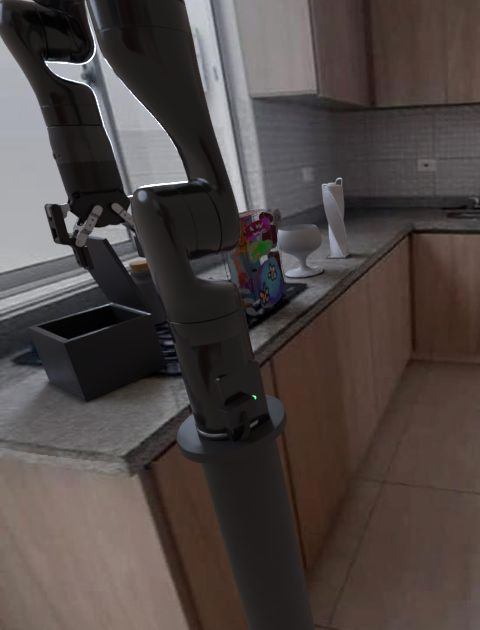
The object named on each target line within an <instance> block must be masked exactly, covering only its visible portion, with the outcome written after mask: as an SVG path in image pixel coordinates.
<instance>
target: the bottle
mask: <svg viewBox="0 0 480 630" xmlns="http://www.w3.org/2000/svg"><path fill="white" fill-rule="evenodd" d="M128 266H129V267H130V271H129V274H130V276H131V277H134V279H133V280H134V282H135V284H136V285H137V287H138V288H139V290H140V291H141V293H142V294H143V296H144V298H145V299H146V301H147V302H148V304H149V305H150V307H151V309H152V310H153V311H151V312H150V313H149V314H152V318H153V321H154V325H155V326H156V325H159V324H164V323H167V320H166V316H165V312H164V309H163V306H162V304H161V301H160V299H159V297H158V294H157V292H156V289H155V286H154V283H153V279H152V276H151V273H150V270H149V267H148V264H147V261H146V259H141V260H135V261H132V262H130V263H128ZM139 311H141V310H139ZM142 312H144V311H142ZM146 313H148V312H146Z"/></svg>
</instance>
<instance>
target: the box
mask: <svg viewBox="0 0 480 630" xmlns="http://www.w3.org/2000/svg"><path fill="white" fill-rule="evenodd" d="M272 211H273V212H272ZM239 216H240V223H241V237H240V241H239V244H238V246H237V247H236V248H235V249H234V250H232V251H229V252H226V253H222V255H221V258H222V261H223V265H224V269H225V273H226V278H227V279H226V280H227V281H230V282H233V283H235V284H236V285H237V286H238V287H239V289H240V292H241V296H242V301H243V306H244V309H245V315H247V316H246V320H247V321H248V319H247V318H248V317H249V316H256V315H257V316H258V317H261V315H260V313H259V309H261V308H264V309H266V308H271V307H273V306H274V305H276V304H277V303H278V302H280V303H279V304H277V305H276V306H274V307H273V308H272V310H274V309H275V308H276V307H279V305H280V306H281V305H282V302H283V301H280V299H283V300H285V299H286V297H287V294H288V293H287V290H288V288H287V286H286V284H287V281H286V280H285V278H286V275H285V274H284V273H285V272H284V269H283V268H284V267H283V260H282V259H283V256H282V255H283V254H282V253H283V251H280V248H281V246H280V247H278V245H277V243H278V244H279V242H280V240H279V242H278V240H277V238H278V236H279V234H278V230H279V228H280V226H281V223H282V215H281V211H280V209H279V208H276V209H274V210H273V209H272V208H269V209H266V210H265V209H263V208H258V209H254V210H249V211H244V212H243V213H242V212H239ZM255 217H258V218H256V220H253V218H255ZM272 222H273V223H272ZM271 223H272V224H271ZM277 234H278V236H277ZM257 237H260V238H261V240H258V239H257ZM276 247H278V249H277V250H274V251H271V250H273V249H275V248H276ZM224 254H225V255H226V256H225V255H224ZM265 256H266V257H267V259H266V260H263V262H261V260H262V259H261V258H262V257H263V258H264V257H265ZM224 257H226V263H225V259H224ZM226 264H227V267H226ZM227 268H228V272H229V274H228V272H227ZM229 277H230V279H229ZM284 292H285V295H284V296H283V294H284ZM258 301H260V305H261V307H259V308H258V307H256V306H258V303H257V302H258ZM252 304H254V305H253V307H249V306H250V305H252ZM286 304H287V302H285V303H284V305H286ZM254 307H255V308H254ZM278 310H279V308H277V309H276V311H278ZM270 312H271V310H269V311H268V313H270ZM274 313H275V311H273V312H272V313H271V314H269V315H267V316H266V317H265V318H263V319H261V320H259V318H257V321H258V323H260V322H262V321H263V320H265V319H267V318H268V317H269V316H271V315H272V314H274ZM265 315H266V313H264V314H263V316H265ZM250 322H253V323H256V321H255V320H252V319H250Z"/></svg>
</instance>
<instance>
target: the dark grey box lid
mask: <svg viewBox="0 0 480 630" xmlns="http://www.w3.org/2000/svg"><path fill="white" fill-rule="evenodd" d="M71 235H72V232H68V236H69V237H71ZM84 246H87V247H88V250H89V253H90V256H91V259H92V262H93V265H94V269H92V270H87V271H88V273H89V274H90V276H91V277H92V278H93V280H94V282H95V283H96V284H97V286H98V287H99V289H100V290H101V291H102V293H103V295H104V296H105V297H106V299H107V301H108V302H109V303H114V304H118V305H121V306H125V307H128V308H132V309H135V310H139V311H140V310H141V311H144V312H148V313H150V312H151V311H153V310H152V309H151V307H150V305H149V304H148V302H147V301H146V299H145V298H144V296H143V294H142V293H141V291H140V290H139V288H138V287H137V285H136V284H135V282H134V279H133V276H131V274H130V272H129V271H128V270H127V268H126V267H125V265H124V263H123V261H122V260H121V259H120V257H119V256H118V254H117V252H116V250H115V249H114V247H113V246H112V245H111V243H110V241H109V240H108V238H107V237H101V236H94V235H89V236H88V238H87V240H86V243H85V245H84Z"/></svg>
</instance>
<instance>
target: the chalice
mask: <svg viewBox="0 0 480 630" xmlns="http://www.w3.org/2000/svg"><path fill="white" fill-rule="evenodd" d="M277 230H278V231H277V236H278V234H279V236H278V238H277V240H278V242H279V240H280V242H279V244H278V243H277V247H278V248H279V247H280V246H281V248H280V249H279V251H280V252H282V253H285V254H288V255H290V256H292V257H294V258H296V259H297V260H298V261H299V267H295V268H292V269H289V270H287V271H286V272H285V273H284V275H285V277H290V278H306V277H307V278H308V277H312V276H316V275H318V274H320V273H323V271H324V269H323V268H322V267H320V266H311V265H310V266H309V265H308V264H307V259H308V258H309V256H310V255H311V254H313V253H314V252H316V251H317V250H318V249H320V247H321V245H322V243H323V237H322V234H321V231H320V228H319V227H318V226H317V225H316V224H311V223H300V224H299V223H298V224H290V225H285V226H281V227H279V228H278V229H277Z"/></svg>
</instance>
